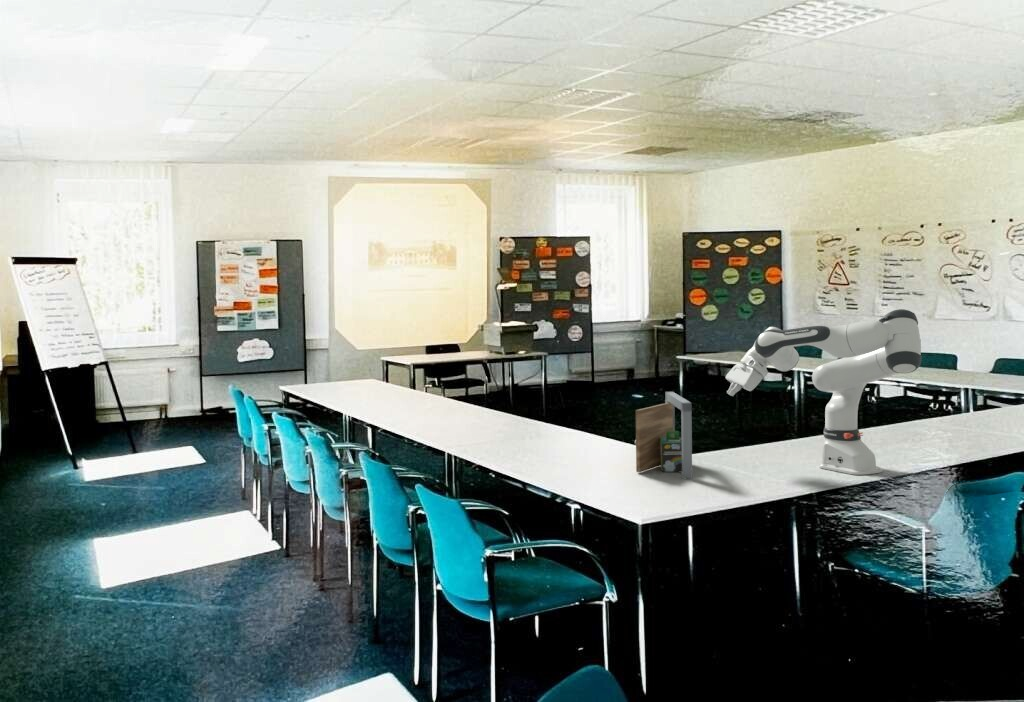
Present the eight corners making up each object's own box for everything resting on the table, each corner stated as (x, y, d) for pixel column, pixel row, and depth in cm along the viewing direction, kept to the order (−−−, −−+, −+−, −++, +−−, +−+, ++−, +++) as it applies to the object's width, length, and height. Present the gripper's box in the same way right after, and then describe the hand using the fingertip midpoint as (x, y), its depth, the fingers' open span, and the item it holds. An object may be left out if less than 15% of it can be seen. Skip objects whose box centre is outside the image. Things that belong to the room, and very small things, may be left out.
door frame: (673, 459, 321) (672, 391, 319) (692, 478, 289) (691, 402, 287) (666, 460, 321) (665, 391, 319) (683, 478, 289) (682, 403, 287)
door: (673, 461, 316) (672, 402, 314) (639, 472, 298) (639, 410, 296) (666, 460, 318) (665, 402, 316) (632, 471, 300) (631, 409, 298)
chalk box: (684, 467, 308) (684, 428, 307) (687, 472, 299) (686, 432, 298) (659, 467, 309) (659, 428, 308) (661, 472, 300) (661, 432, 299)
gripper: (735, 356, 310) (713, 384, 311) (756, 363, 290) (733, 394, 291) (748, 365, 311) (725, 394, 312) (770, 374, 291) (746, 404, 292)
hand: (729, 394), depth 301 cm, fingers closed
